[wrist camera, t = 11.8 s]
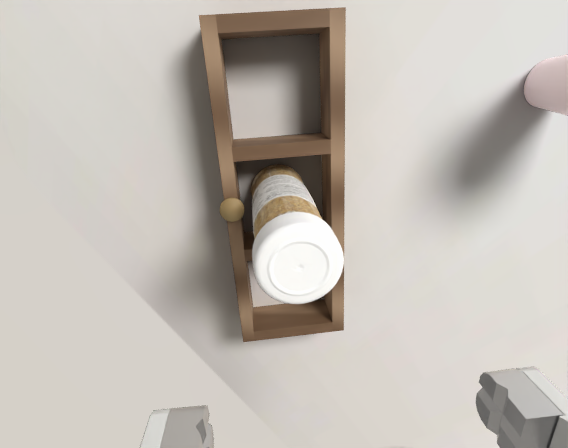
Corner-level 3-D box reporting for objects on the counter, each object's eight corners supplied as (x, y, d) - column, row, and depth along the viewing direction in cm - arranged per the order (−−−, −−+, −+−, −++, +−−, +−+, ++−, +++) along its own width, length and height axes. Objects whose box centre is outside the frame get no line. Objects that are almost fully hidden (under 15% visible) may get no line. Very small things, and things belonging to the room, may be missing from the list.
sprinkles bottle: (291, 221, 30) (322, 317, 18) (242, 204, 29) (239, 294, 17) (312, 173, 29) (362, 242, 17) (261, 153, 28) (273, 212, 16)
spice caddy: (334, 306, 34) (344, 332, 31) (239, 317, 34) (238, 344, 30) (332, 16, 25) (346, 6, 21) (199, 24, 24) (191, 14, 21)
